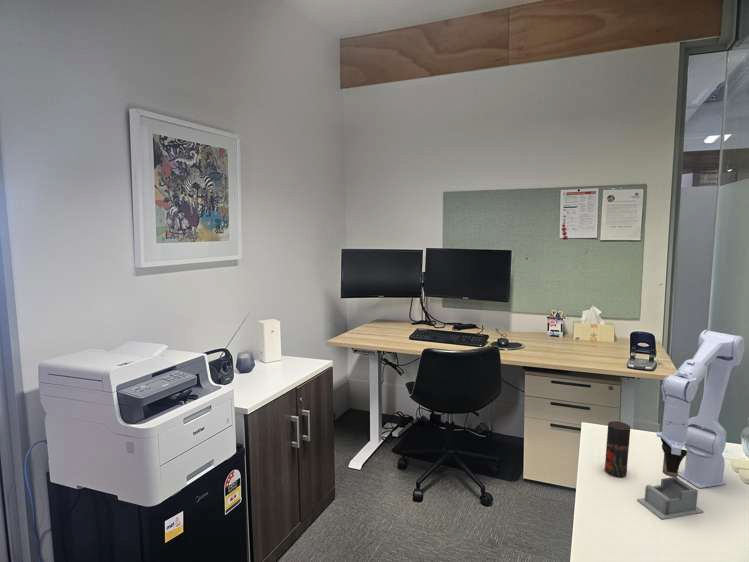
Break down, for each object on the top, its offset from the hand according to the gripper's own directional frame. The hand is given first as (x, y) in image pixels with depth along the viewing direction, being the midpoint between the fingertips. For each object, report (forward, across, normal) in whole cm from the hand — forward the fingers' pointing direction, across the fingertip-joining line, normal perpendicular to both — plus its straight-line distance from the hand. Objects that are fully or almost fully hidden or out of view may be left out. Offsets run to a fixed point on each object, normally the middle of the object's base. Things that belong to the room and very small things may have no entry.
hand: (670, 468), depth 131 cm
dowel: (+2, 0, 0) cm, 2 cm away
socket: (+9, +3, 0) cm, 10 cm away
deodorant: (+10, -9, -13) cm, 19 cm away
